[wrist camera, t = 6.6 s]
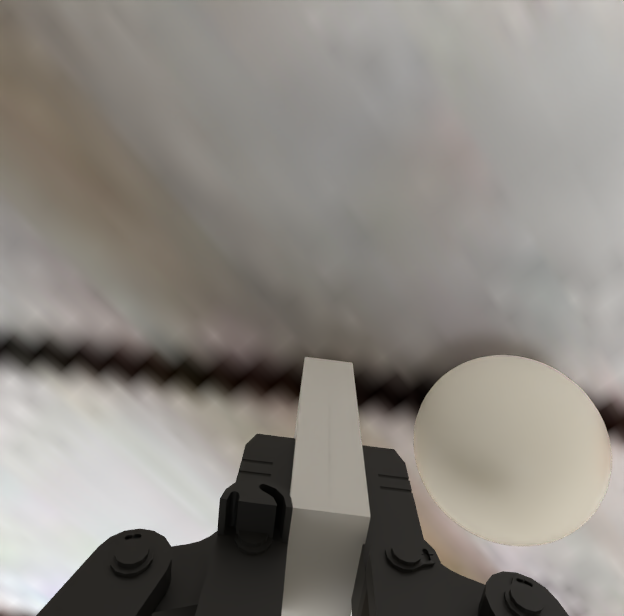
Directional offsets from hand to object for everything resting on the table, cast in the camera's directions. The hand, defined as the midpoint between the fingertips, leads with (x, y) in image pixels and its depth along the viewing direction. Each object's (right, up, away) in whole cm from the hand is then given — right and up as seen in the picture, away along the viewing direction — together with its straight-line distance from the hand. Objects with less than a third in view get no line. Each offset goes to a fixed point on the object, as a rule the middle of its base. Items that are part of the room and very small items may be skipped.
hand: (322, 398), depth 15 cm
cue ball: (+6, -1, -1) cm, 6 cm away
